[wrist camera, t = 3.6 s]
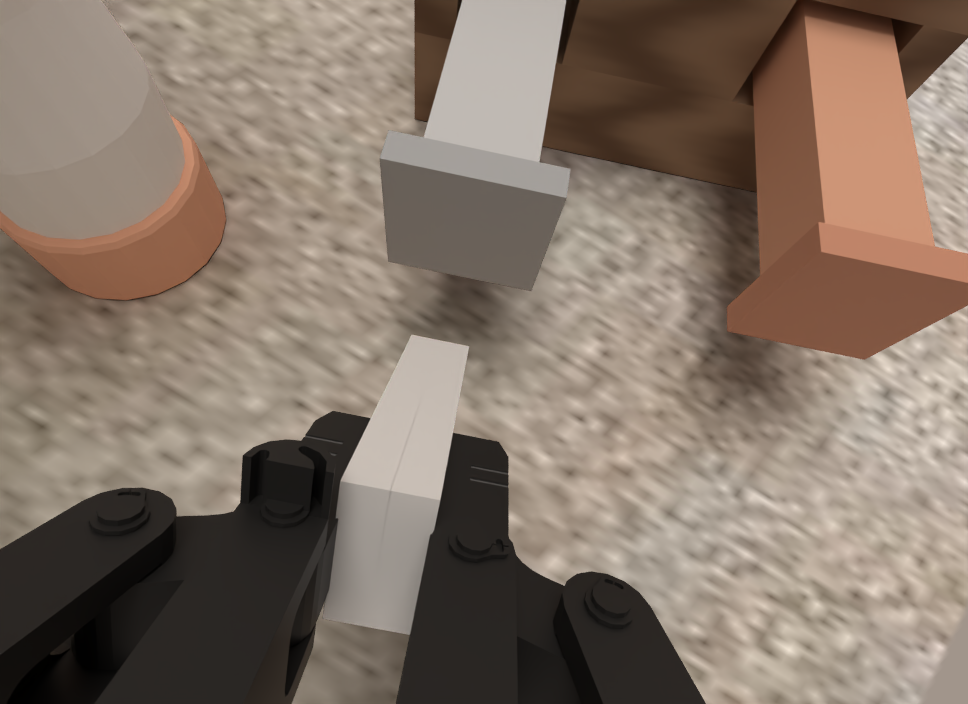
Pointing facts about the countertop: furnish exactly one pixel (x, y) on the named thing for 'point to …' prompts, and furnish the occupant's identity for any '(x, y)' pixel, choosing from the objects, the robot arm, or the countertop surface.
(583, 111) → the block
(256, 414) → the countertop surface
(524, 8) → the plug grey
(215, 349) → the countertop surface
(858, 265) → the plug terracotta
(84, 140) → the salt shaker
